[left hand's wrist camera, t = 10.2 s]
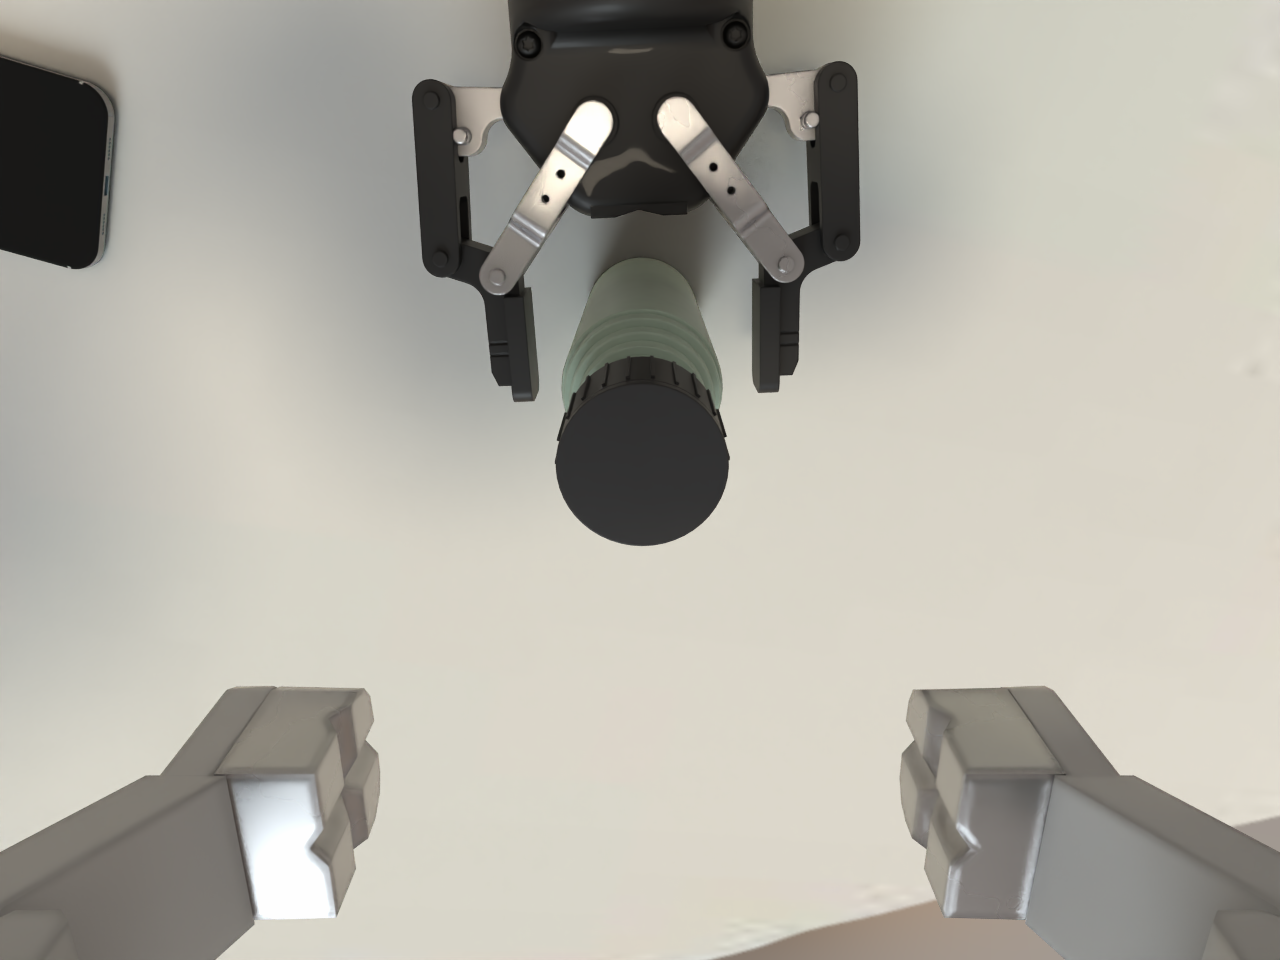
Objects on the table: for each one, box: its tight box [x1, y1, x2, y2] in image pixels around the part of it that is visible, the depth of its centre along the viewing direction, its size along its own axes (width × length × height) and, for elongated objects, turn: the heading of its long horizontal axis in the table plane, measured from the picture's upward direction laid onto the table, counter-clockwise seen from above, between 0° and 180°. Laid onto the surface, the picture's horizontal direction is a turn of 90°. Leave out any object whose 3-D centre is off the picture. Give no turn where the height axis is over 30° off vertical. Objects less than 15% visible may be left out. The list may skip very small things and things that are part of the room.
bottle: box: [562, 258, 722, 413], centre depth 28 cm, size 5×5×19 cm
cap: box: [555, 355, 730, 546], centre depth 20 cm, size 4×4×3 cm
